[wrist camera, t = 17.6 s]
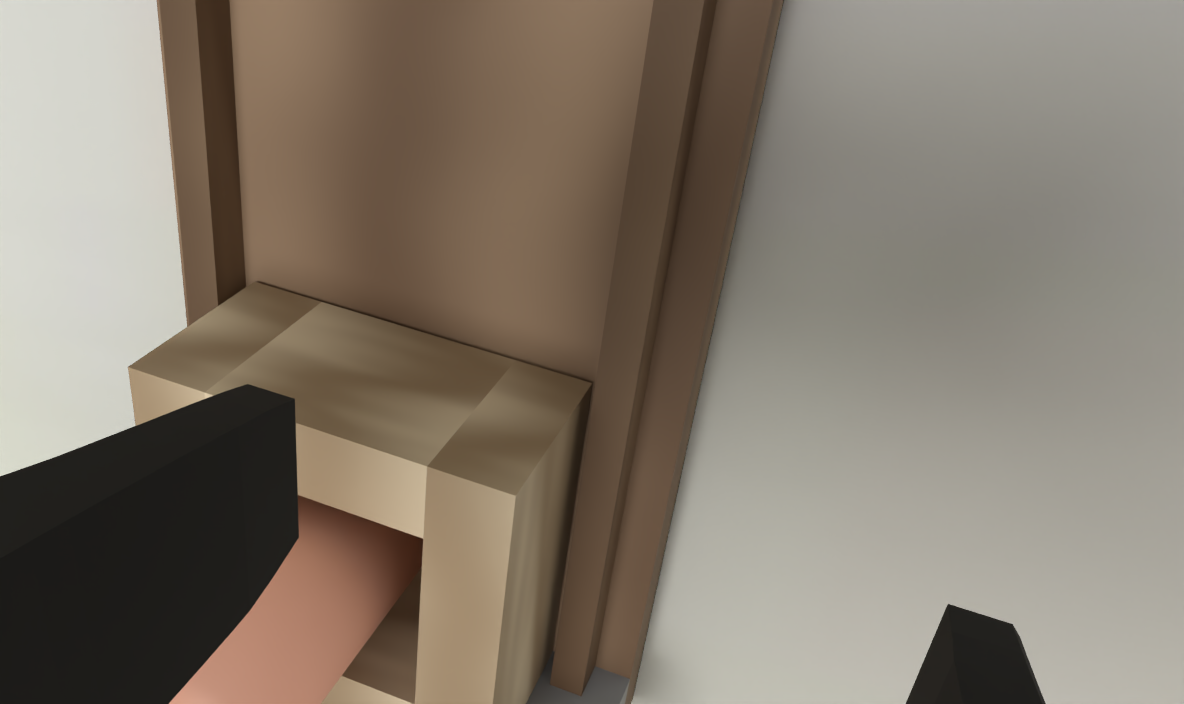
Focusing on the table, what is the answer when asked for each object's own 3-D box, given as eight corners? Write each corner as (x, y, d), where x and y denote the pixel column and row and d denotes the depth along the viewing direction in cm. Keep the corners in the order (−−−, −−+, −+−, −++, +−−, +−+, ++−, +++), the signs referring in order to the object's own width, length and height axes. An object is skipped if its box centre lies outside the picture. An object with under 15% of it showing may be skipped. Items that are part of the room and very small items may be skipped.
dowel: (472, 436, 23) (258, 702, 16) (469, 539, 25) (271, 819, 18) (353, 402, 24) (102, 643, 17) (357, 504, 25) (127, 761, 19)
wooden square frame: (592, 382, 21) (516, 496, 18) (551, 653, 25) (484, 785, 22) (254, 281, 23) (128, 367, 20) (268, 550, 27) (166, 657, 24)
